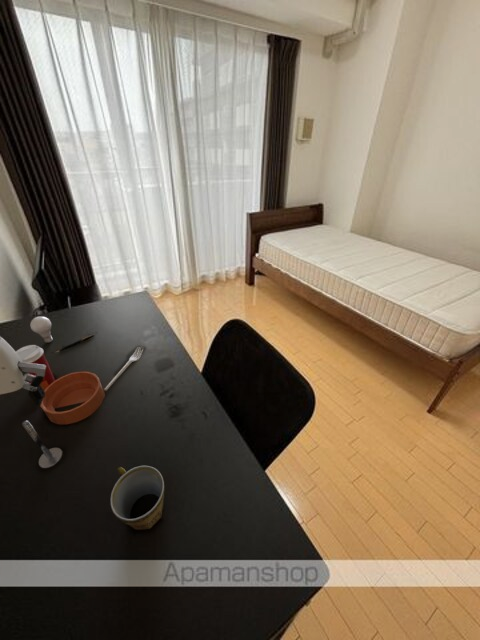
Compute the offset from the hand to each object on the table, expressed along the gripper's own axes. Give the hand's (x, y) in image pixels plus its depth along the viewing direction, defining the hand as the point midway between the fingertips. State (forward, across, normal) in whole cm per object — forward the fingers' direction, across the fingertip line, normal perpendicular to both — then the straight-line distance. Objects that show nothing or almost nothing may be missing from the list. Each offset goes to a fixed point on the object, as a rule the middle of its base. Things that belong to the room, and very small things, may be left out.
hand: (14, 405), depth 57 cm
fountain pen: (+21, -2, +47) cm, 52 cm away
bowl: (+21, +2, +17) cm, 28 cm away
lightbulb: (+21, -12, +52) cm, 58 cm away
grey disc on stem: (+22, 0, 0) cm, 22 cm away
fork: (+22, +15, +28) cm, 39 cm away
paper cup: (+21, -8, +28) cm, 36 cm away
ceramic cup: (+22, +20, -17) cm, 34 cm away
